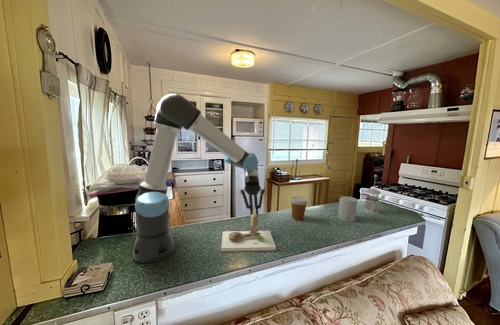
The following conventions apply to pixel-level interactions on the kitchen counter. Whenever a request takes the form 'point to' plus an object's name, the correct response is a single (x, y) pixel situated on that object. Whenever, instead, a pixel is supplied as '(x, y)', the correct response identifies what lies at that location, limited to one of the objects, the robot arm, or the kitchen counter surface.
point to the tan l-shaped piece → (254, 229)
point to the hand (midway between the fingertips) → (254, 222)
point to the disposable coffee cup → (298, 208)
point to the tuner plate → (248, 242)
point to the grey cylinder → (347, 208)
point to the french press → (372, 201)
